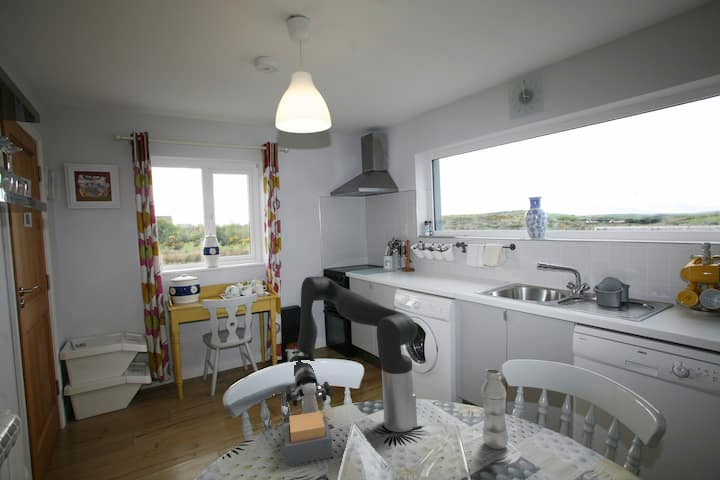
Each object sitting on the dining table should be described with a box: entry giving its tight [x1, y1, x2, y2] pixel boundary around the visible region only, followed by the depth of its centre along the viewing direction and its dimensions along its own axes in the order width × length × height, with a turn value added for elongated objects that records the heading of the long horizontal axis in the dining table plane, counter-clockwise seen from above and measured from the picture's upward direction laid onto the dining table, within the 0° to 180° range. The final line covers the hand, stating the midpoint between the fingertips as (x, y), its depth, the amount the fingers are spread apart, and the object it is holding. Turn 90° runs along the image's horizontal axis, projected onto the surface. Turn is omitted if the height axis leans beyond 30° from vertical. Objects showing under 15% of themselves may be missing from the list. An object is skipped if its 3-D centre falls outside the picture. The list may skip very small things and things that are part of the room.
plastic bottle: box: [480, 368, 509, 450], centre depth 99 cm, size 6×7×20 cm
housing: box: [283, 416, 333, 466], centre depth 102 cm, size 12×12×5 cm
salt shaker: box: [301, 383, 320, 414], centre depth 113 cm, size 6×6×13 cm
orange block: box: [289, 410, 325, 443], centre depth 102 cm, size 9×9×4 cm
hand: (310, 401), depth 114 cm, fingers open, 8 cm apart
